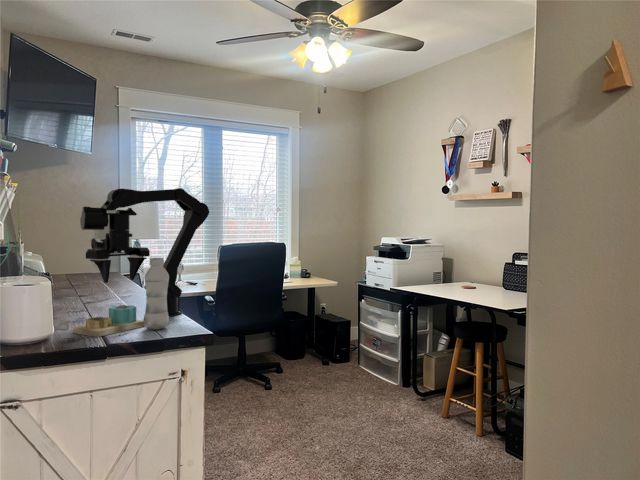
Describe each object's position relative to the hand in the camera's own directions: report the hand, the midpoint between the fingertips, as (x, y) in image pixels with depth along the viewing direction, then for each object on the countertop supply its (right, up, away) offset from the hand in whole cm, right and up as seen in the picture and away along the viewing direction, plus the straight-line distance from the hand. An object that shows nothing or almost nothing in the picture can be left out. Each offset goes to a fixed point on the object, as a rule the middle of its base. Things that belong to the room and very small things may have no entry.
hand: (119, 281), depth 139 cm
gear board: (+3, -12, -11) cm, 17 cm away
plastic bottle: (+15, -13, -11) cm, 23 cm away
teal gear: (+5, -11, -8) cm, 14 cm away
